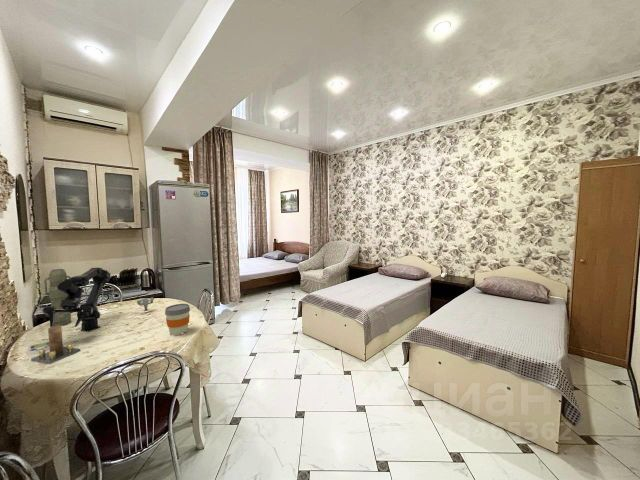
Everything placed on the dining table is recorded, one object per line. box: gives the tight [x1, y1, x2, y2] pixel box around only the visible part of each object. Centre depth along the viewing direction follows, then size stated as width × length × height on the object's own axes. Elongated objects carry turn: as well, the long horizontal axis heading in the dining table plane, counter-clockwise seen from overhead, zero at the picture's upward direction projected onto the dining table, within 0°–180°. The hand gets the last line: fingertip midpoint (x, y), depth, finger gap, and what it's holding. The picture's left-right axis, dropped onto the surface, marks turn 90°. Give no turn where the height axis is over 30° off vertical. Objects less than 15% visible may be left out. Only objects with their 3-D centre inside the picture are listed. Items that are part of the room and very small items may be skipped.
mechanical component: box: [136, 297, 155, 312], centre depth 178 cm, size 3×10×10 cm, turn 148°
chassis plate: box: [30, 343, 81, 365], centre depth 121 cm, size 12×12×4 cm
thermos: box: [43, 268, 72, 327], centre depth 159 cm, size 9×12×35 cm
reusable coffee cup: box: [164, 303, 191, 336], centre depth 146 cm, size 13×13×15 cm
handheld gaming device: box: [26, 340, 50, 356], centre depth 129 cm, size 9×1×15 cm
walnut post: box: [47, 325, 64, 355], centre depth 121 cm, size 4×4×13 cm
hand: (63, 326), depth 129 cm, fingers open, 9 cm apart
